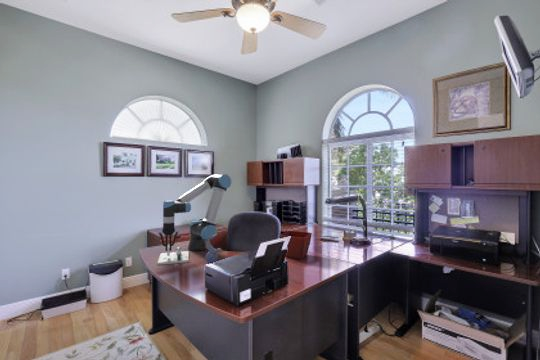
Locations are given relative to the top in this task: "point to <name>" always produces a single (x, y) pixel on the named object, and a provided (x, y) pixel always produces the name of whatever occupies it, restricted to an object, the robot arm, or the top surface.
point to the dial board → (173, 258)
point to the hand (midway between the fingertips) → (168, 255)
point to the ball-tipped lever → (178, 253)
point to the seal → (211, 251)
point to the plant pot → (297, 243)
